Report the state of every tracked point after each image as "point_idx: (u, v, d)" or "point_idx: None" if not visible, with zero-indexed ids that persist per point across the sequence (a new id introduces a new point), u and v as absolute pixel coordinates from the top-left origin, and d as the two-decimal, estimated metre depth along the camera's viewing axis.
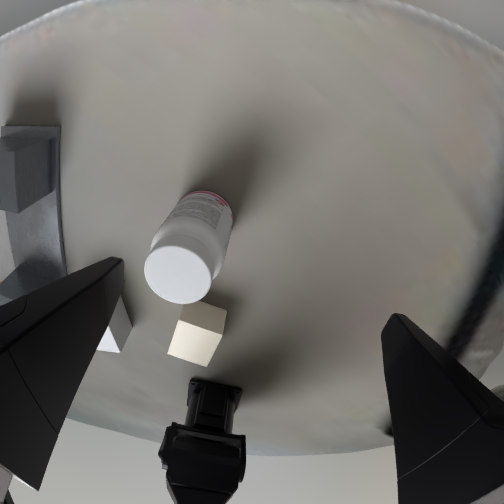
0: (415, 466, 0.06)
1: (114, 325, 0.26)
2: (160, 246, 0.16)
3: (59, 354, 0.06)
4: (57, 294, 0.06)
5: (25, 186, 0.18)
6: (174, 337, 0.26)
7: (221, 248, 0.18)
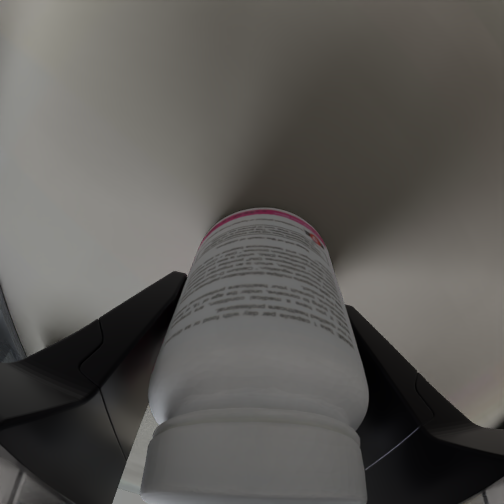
0: None
1: None
2: (195, 485, 0.03)
3: (138, 381, 0.06)
4: (134, 318, 0.06)
5: None
6: None
7: (368, 401, 0.05)
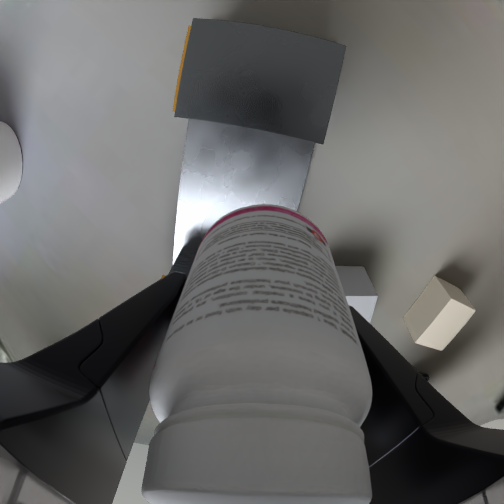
0: None
1: None
2: (199, 482, 0.03)
3: (138, 381, 0.06)
4: (134, 317, 0.06)
5: None
6: (434, 320, 0.21)
7: (371, 397, 0.05)
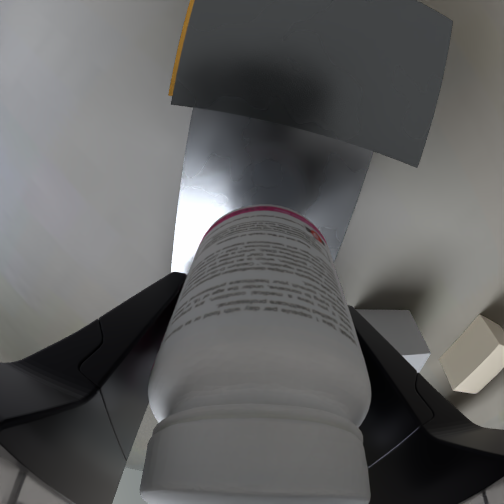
0: None
1: None
2: (195, 482, 0.03)
3: (138, 381, 0.06)
4: (134, 318, 0.06)
5: None
6: (478, 367, 0.15)
7: None
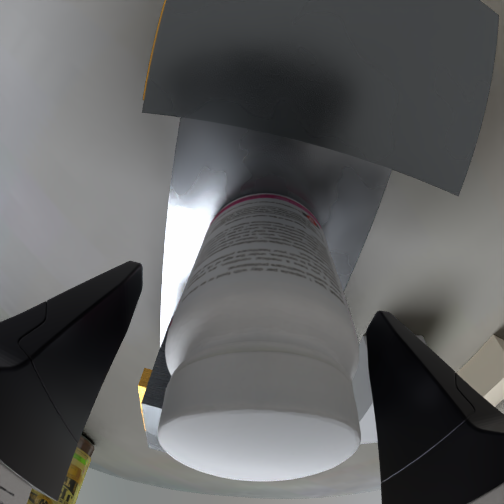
0: (398, 468, 0.06)
1: None
2: (210, 403, 0.04)
3: (81, 362, 0.06)
4: (78, 301, 0.06)
5: None
6: (490, 391, 0.14)
7: None
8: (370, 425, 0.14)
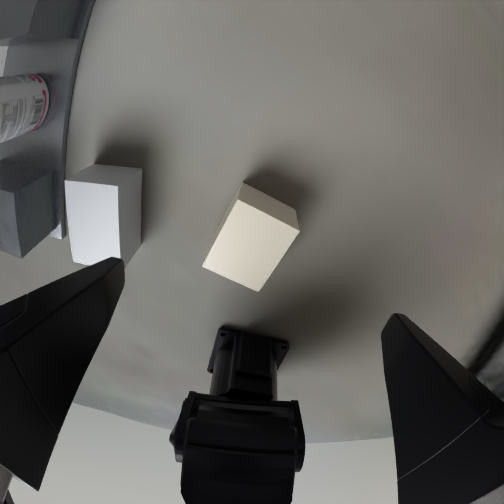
0: (414, 466, 0.06)
1: (125, 227, 0.18)
2: None
3: (59, 354, 0.06)
4: (57, 294, 0.06)
5: (48, 7, 0.09)
6: (221, 234, 0.18)
7: None
8: (78, 230, 0.17)
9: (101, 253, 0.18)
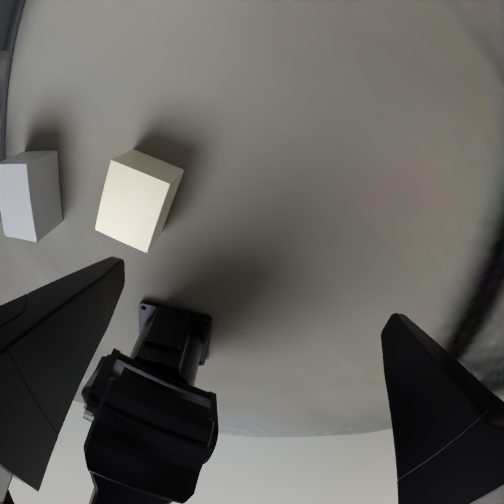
0: (414, 466, 0.06)
1: (38, 200, 0.18)
2: None
3: (59, 354, 0.06)
4: (57, 294, 0.06)
5: None
6: (104, 195, 0.17)
7: None
8: (5, 207, 0.17)
9: (21, 225, 0.18)
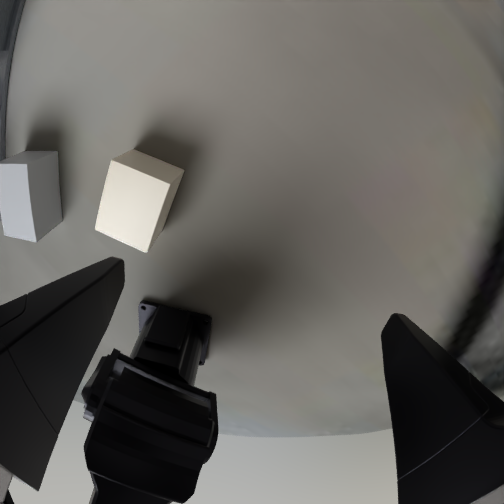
0: (414, 466, 0.06)
1: (38, 201, 0.18)
2: None
3: (59, 354, 0.06)
4: (57, 294, 0.06)
5: None
6: (104, 195, 0.17)
7: None
8: (5, 206, 0.17)
9: (21, 225, 0.18)
